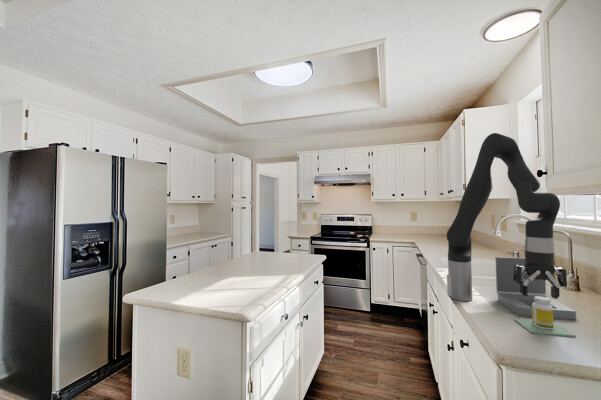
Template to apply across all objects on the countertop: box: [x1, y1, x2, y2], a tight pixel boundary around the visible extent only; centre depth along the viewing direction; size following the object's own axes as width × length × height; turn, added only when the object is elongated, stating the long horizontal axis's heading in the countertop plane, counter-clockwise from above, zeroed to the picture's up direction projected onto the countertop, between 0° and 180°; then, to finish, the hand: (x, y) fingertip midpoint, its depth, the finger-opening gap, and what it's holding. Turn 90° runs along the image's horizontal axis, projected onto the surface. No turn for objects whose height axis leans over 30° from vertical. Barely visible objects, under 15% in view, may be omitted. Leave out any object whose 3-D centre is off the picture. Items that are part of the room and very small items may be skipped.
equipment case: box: [495, 256, 577, 320], centre depth 105 cm, size 18×17×19 cm
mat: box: [513, 318, 576, 338], centre depth 89 cm, size 12×10×1 cm
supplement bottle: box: [531, 296, 554, 330], centre depth 89 cm, size 5×5×10 cm
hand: (539, 296), depth 89 cm, fingers open, 8 cm apart
